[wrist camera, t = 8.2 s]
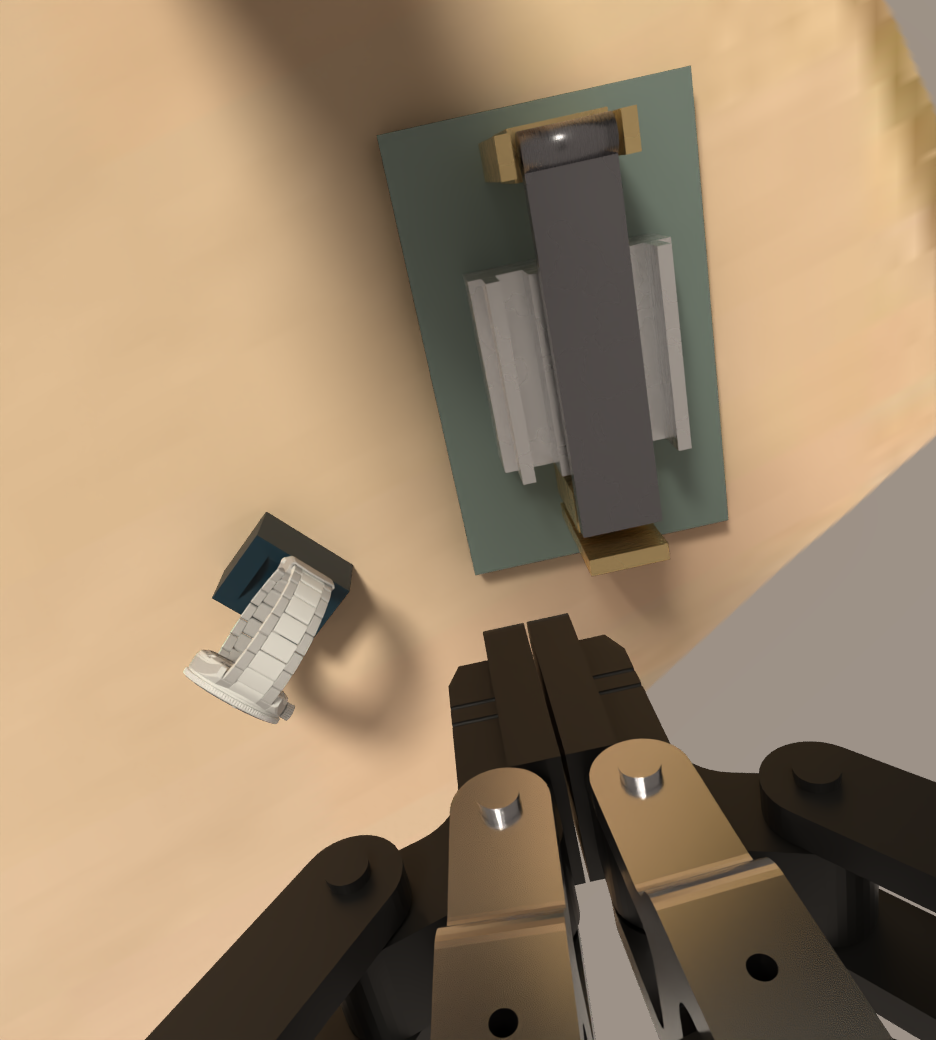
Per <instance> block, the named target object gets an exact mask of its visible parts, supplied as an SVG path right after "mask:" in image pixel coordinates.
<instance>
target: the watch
mask: <svg viewBox="0 0 936 1040" xmlns="http://www.w3.org/2000/svg"><path fill="white" fill-rule="evenodd" d="M352 568H353V565H352V564H350V563H349V562H347V561H345V560H344V559H342V558H341V557H339V556H337V555H336V554H334V553H333V552H331V551H329V550H328V549H326V548H324V547H323V546H321V545H320V544H318V543H316V542H315V541H313V540H311V539H310V538H308V537H307V536H305V535H303V534H302V533H300V532H299V531H297V530H295V529H294V528H292V527H290V526H289V525H287V524H286V523H284V522H282V521H281V520H279V519H278V518H276V517H274V516H273V515H271V514H269V513H268V512H266V513H265V514H264V516H263V517H262V519H261V520H260V521H259V523H258V524H257V526H256V527H255V528H254V530H253V531H252V533H251V534H250V535H249V537H248V538H247V540H246V541H245V543H244V544H243V545H242V547H241V548H240V550H239V551H238V552H237V554H236V555H235V557H234V558H233V560H232V561H231V562H230V564H229V565H228V567H227V568H226V569H225V571H224V573H223V575H222V577H221V579H220V582H219V584H218V586H217V588H216V590H215V593H214V595H213V597H212V598H213V599H214V600H216V601H218V602H220V603H221V604H223V605H225V606H227V607H228V608H230V609H232V610H234V611H235V612H237V613H239V614H241V616H240V617H241V618H242V619H241V618H239V620H238V621H237V623H236V624H235V626H234V627H233V629H232V630H231V632H230V633H231V634H229V636H228V637H227V639H226V640H225V642H224V644H223V645H222V647H221V649H220V651H219V653H216V652H214V651H211V650H200V651H199V652H197V654H196V655H195V657H194V658H193V660H192V661H191V663H190V665H189V667H186V668H185V669H184V671H183V673H184V674H185V675H186V677H188V678H189V679H190V680H191V681H193V682H194V683H195V684H197V685H198V686H199V687H201V688H202V689H204V690H205V691H207V692H208V693H210V694H212V695H213V696H215V697H217V698H218V699H220V700H222V701H224V702H225V703H227V704H229V705H231V706H232V707H234V708H236V709H238V710H240V711H242V712H244V713H247V714H249V715H251V716H253V717H255V718H258V719H260V720H263V721H266V722H268V723H272V724H277V723H278V721H279V720H280V718H282V719H284V720H286V721H287V720H288V719H289V718H290V717H291V715H292V713H293V711H294V709H295V706H294V705H292V704H290V703H289V702H287V701H288V697H287V696H286V694H285V693H284V692H283V691H282V690H283V689H284V687H285V686H286V684H287V683H288V681H289V680H290V678H291V676H292V675H293V674H294V672H295V671H296V669H297V667H298V666H299V664H300V662H301V660H302V659H303V656H305V654H306V652H307V650H308V649H309V647H310V645H311V643H312V641H313V638H314V637H315V636H316V634H317V633H318V632H319V630H320V629H321V628H322V626H323V625H324V624H325V623H326V621H327V620H328V619H329V617H330V616H331V615H332V613H333V612H334V611H335V610H336V608H337V607H338V606H339V604H340V603H341V602H342V600H343V599H344V598H345V597H346V595H347V594H348V593H349V591H350V584H351V576H352ZM243 619H244V620H246V621H248V622H246V621H244V620H243ZM243 633H244V634H243ZM232 634H233V635H232ZM245 634H246V635H245ZM247 635H248V636H249V637H248V636H247ZM237 637H238V638H237ZM250 637H251V638H250ZM252 638H253V639H252ZM295 651H296V652H297V653H296V652H295ZM298 653H299V654H298ZM300 654H301V655H303V656H301V655H300ZM271 655H272V656H271ZM278 659H279V660H278ZM280 660H281V661H280ZM279 717H280V718H279Z"/></svg>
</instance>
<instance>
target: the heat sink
mask: <svg viewBox="0 0 936 1040" xmlns="http://www.w3.org/2000/svg"><path fill="white" fill-rule="evenodd" d="M628 239H629V247H630V255H631V263H632V272H633V280H634V288H635V297H636V305H637V313H638V321H639V330H640V338H641V346H642V354H643V363H644V371H645V379H646V388H647V396H648V404H649V412H650V421H651V429H652V437H653V441H655V440H659V439H664V438H666V439H667V440H668V441H669V442H670V443H671V444H672V445H673V446H674V447H675V448H676V449H677V450H678V451H681V450H686V449H690V448H692V446H691V435H690V425H689V415H688V405H687V395H686V385H685V374H684V364H683V354H682V344H681V334H680V323H679V313H678V303H677V293H676V283H675V272H674V262H673V252H672V242H671V237H668V236H663V235H659V234H654V233H649V234H644V235H640V236H635V237H631V238H628ZM463 278H464V283H465V288H466V294H467V299H468V304H469V309H470V314H471V319H472V324H473V329H474V334H475V339H476V344H477V349H478V354H479V359H480V364H481V369H482V374H483V379H484V384H485V389H486V394H487V399H488V404H489V409H490V414H491V419H492V424H493V429H494V435H495V440H496V445H497V450H498V454H499V457H500V460H501V463H502V465H503V468H504V471H505V473H509V472H513V471H518V473H519V475H520V478H521V480H522V482H523V485H526V484H530V483H535V482H536V477H535V471H534V467H536V466H541V465H545V464H550V463H554V462H555V464H556V466H557V468H558V470H559V471H560V473H561V475H562V476H567V475H571V472H570V465H569V459H568V453H567V447H566V441H565V435H564V429H563V423H562V417H561V411H560V405H559V399H558V393H557V386H556V380H555V374H554V368H553V362H552V356H551V350H550V344H549V338H548V332H547V326H546V320H545V313H544V307H543V301H542V295H541V289H540V283H539V277H538V271H537V265H536V259H531V260H527V261H522V262H518V263H513V264H509V265H504V266H500V267H495V268H491V269H486V270H481V271H477V272H472V273H468V274H463Z"/></svg>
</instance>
